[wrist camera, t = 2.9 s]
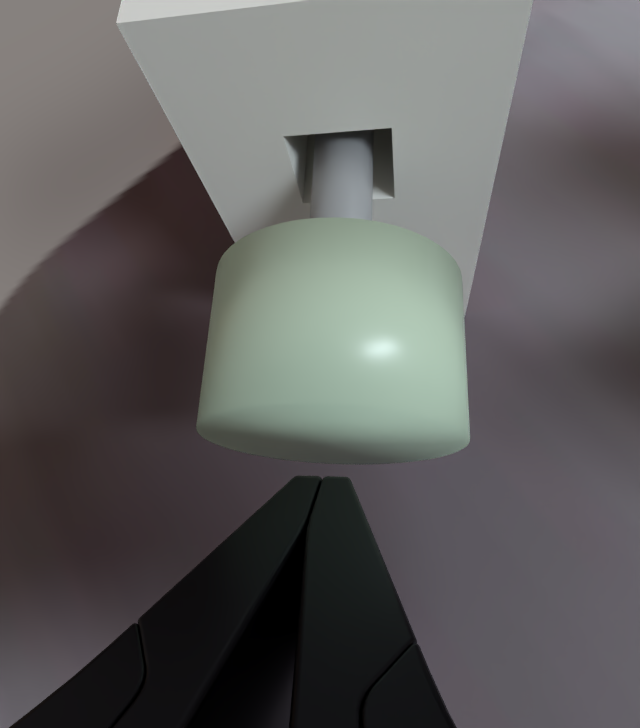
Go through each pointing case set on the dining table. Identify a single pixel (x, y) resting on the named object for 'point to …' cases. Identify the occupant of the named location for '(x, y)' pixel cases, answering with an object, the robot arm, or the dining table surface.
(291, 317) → the sage button
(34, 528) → the dining table surface
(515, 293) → the dining table surface
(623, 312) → the dining table surface
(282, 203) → the sage button housing
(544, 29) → the dining table surface
